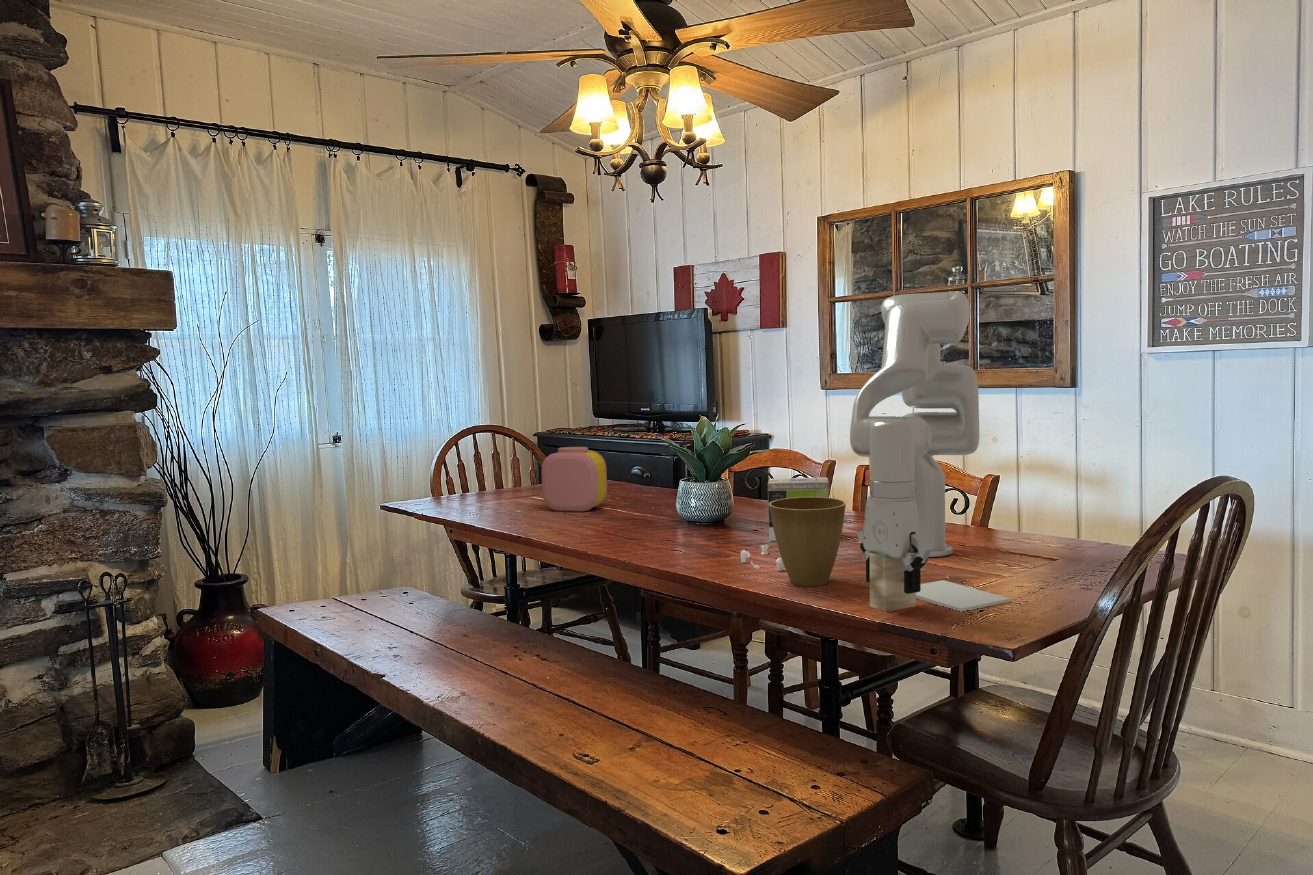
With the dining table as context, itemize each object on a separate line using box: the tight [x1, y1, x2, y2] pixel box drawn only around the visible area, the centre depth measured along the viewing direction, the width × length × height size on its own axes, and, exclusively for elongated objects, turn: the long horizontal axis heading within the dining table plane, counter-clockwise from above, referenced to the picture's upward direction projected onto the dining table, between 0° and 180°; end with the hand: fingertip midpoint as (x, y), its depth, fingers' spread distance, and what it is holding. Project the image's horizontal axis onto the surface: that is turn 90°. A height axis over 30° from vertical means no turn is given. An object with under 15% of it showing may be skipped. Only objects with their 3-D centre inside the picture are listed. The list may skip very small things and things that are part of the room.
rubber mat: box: [916, 579, 1011, 613], centre depth 158 cm, size 16×12×1 cm
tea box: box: [767, 476, 830, 542], centre depth 216 cm, size 15×10×15 cm, turn 80°
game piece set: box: [739, 544, 785, 572], centre depth 191 cm, size 19×20×4 cm
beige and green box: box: [869, 551, 917, 613], centre depth 153 cm, size 4×7×10 cm, turn 117°
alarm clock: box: [540, 446, 608, 513], centre depth 270 cm, size 18×11×19 cm, turn 74°
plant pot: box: [769, 497, 847, 587], centre depth 171 cm, size 15×15×16 cm
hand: (892, 586), depth 153 cm, fingers open, 9 cm apart
